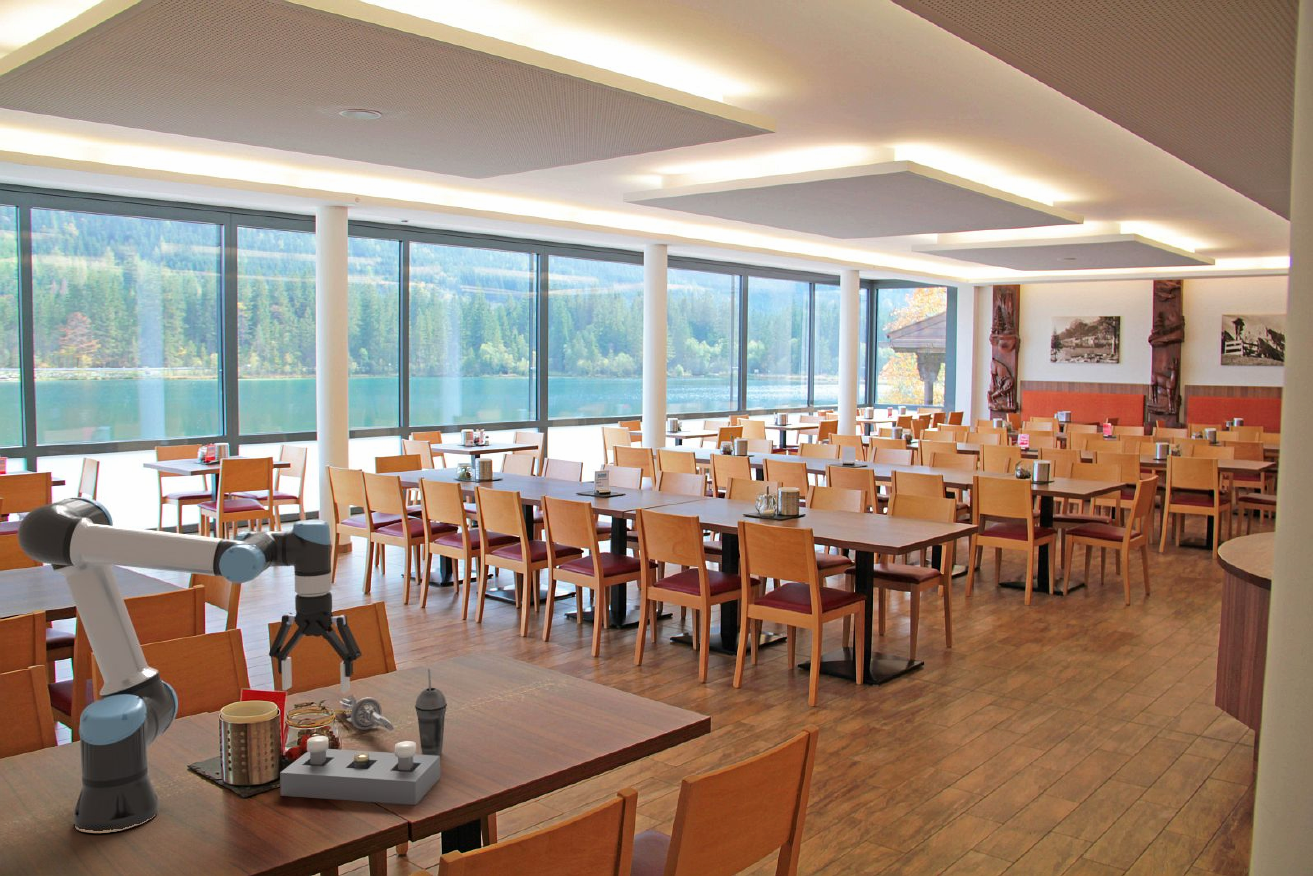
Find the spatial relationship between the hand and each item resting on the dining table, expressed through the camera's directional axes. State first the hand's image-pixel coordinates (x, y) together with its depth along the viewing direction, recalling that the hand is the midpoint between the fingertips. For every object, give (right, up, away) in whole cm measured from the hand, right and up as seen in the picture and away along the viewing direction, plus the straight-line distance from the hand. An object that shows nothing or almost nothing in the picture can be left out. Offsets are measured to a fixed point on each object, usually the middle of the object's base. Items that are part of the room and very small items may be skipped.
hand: (316, 690), depth 220 cm
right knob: (+20, -16, -2) cm, 26 cm away
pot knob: (+10, -17, -1) cm, 20 cm away
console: (+10, -21, 0) cm, 23 cm away
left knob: (0, -16, +1) cm, 16 cm away
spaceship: (+1, -19, +35) cm, 39 cm away
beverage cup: (+21, -20, +18) cm, 34 cm away
